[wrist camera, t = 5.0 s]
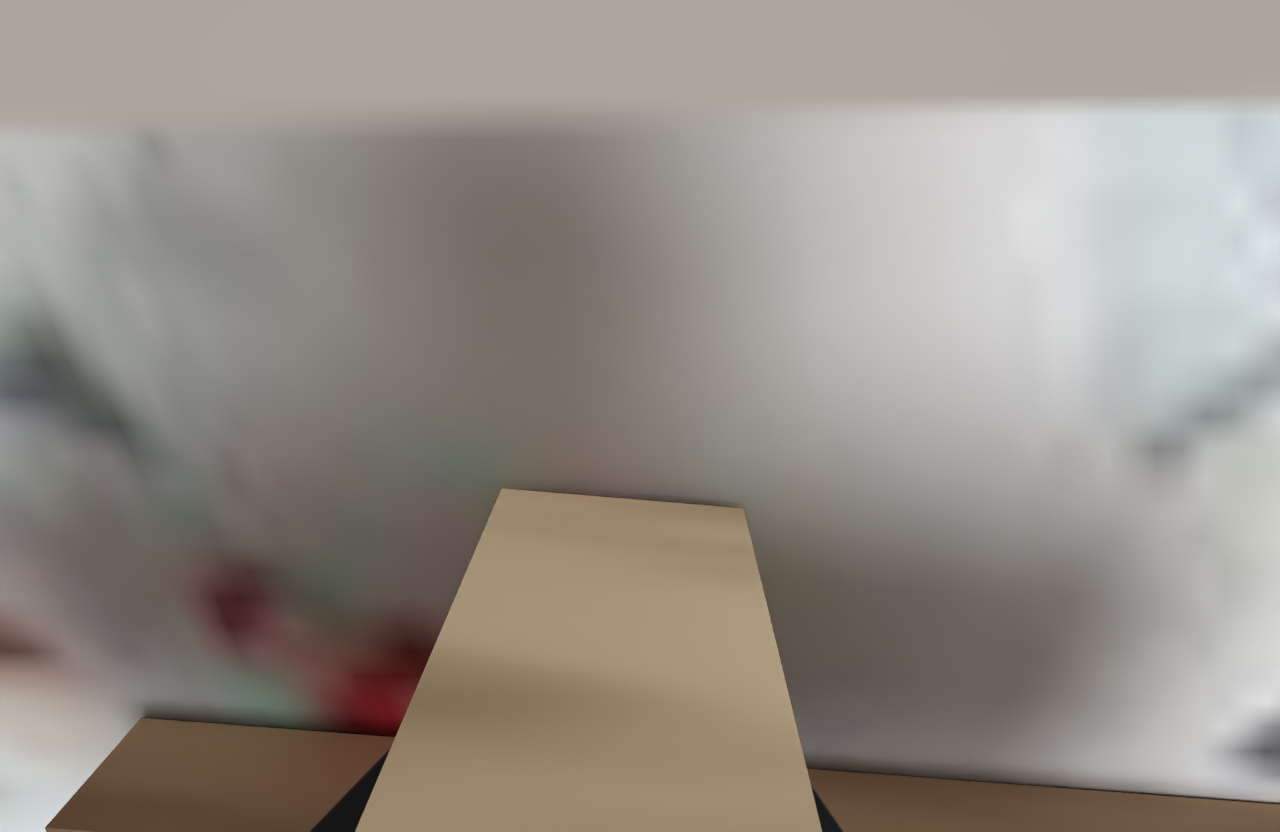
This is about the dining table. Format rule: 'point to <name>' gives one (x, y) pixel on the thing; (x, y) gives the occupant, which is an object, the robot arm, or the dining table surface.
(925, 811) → the board
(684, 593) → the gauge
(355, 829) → the robot arm
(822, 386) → the dining table surface
